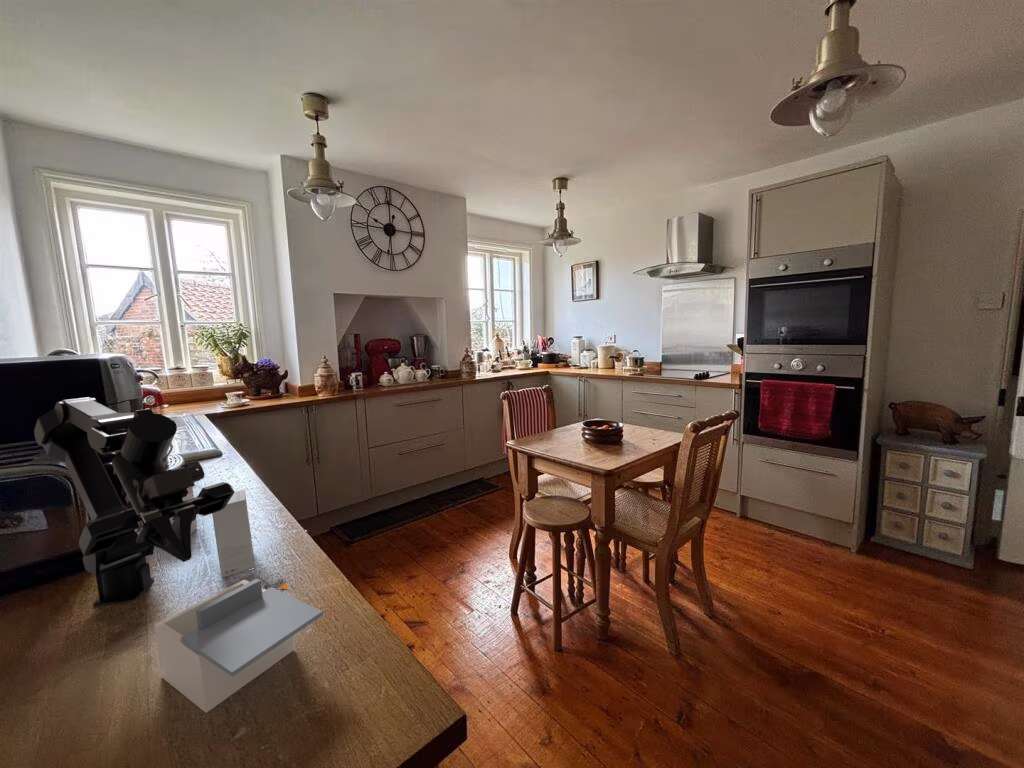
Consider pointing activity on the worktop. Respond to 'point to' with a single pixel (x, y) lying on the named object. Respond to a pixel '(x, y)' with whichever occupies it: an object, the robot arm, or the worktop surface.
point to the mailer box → (204, 659)
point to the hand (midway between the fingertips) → (187, 559)
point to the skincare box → (234, 536)
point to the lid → (247, 625)
